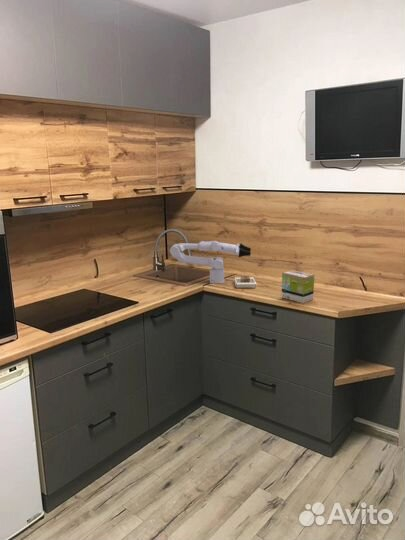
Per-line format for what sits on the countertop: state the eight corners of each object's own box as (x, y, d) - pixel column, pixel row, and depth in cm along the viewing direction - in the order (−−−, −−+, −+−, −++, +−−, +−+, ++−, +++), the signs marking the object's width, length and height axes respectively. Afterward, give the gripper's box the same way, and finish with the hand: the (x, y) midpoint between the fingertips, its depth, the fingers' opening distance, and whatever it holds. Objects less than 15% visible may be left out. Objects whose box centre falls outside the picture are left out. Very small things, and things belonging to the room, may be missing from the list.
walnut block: (241, 286, 281) (241, 278, 280) (240, 283, 289) (240, 275, 288) (249, 286, 281) (250, 278, 280) (248, 283, 289) (248, 275, 288)
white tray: (236, 289, 277) (236, 284, 276) (234, 282, 294) (234, 277, 293) (256, 289, 277) (256, 283, 276) (253, 282, 294) (253, 277, 293)
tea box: (280, 298, 259) (281, 272, 256) (291, 294, 266) (292, 269, 263) (303, 303, 249) (304, 276, 245) (313, 300, 255) (315, 273, 252)
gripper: (229, 246, 282) (251, 249, 282) (230, 239, 296) (251, 242, 295) (227, 256, 285) (249, 260, 284) (228, 249, 298) (249, 252, 298)
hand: (250, 251), depth 290 cm, fingers open, 7 cm apart
